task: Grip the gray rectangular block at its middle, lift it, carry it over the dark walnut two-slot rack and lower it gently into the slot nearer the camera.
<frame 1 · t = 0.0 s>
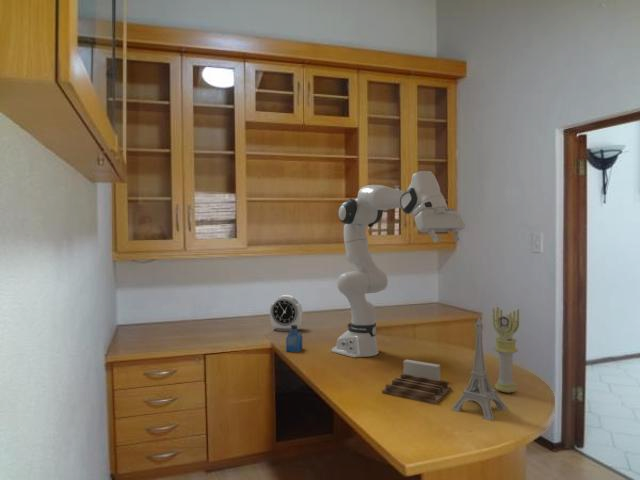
hand: (447, 241, 165), 54 cm above the table, tool tilted 30°, fingers open, 8 cm apart
perfume bottle: (294, 350, 223), on the table
gray rectangular block: (421, 378, 181), on the table
rack: (417, 391, 166), on the table
eiffel tower: (479, 409, 150), on the table
trophy: (505, 391, 165), on the table
alarm clock: (286, 330, 265), on the table
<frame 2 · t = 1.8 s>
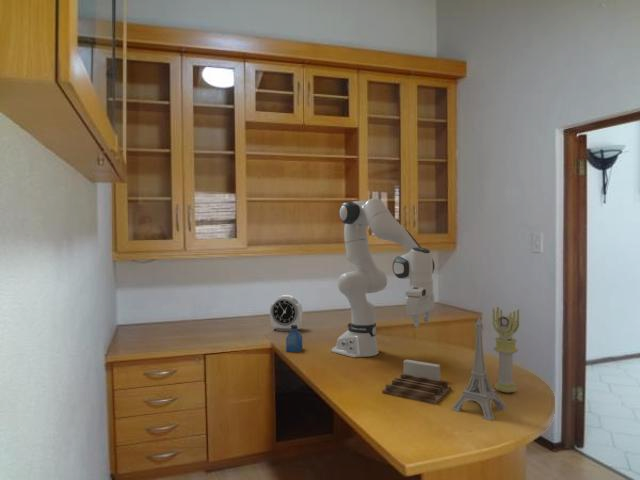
hand: (421, 324, 180), 21 cm above the table, tool pointing down, fingers open, 8 cm apart
nothing on the table moved.
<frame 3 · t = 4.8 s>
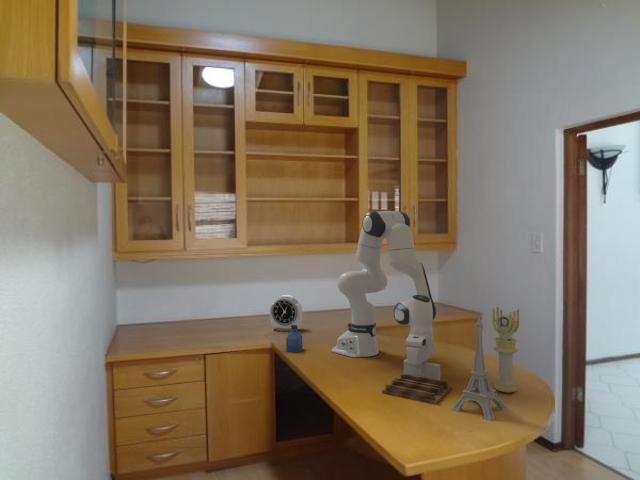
hand: (421, 371, 181), 2 cm above the table, tool pointing down, fingers closed on gray rectangular block, 3 cm apart
gray rectangular block: (421, 377, 181), on the table, touching gripper
everything else where it was.
when the fingers open (5 cm above the table, at t = 11.5 s): gray rectangular block drops 1 cm, resting on rack.
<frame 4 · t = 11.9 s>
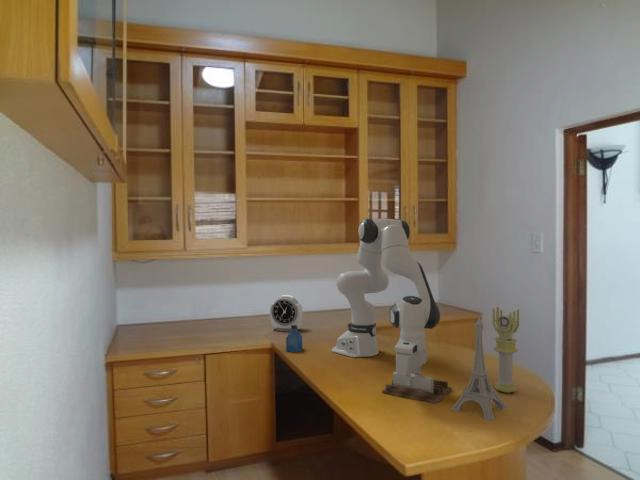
hand: (412, 381, 163), 5 cm above the table, tool pointing down, fingers open, 6 cm apart
gray rectangular block: (412, 392, 163), point 1 cm above the table, touching rack
everything else where it was.
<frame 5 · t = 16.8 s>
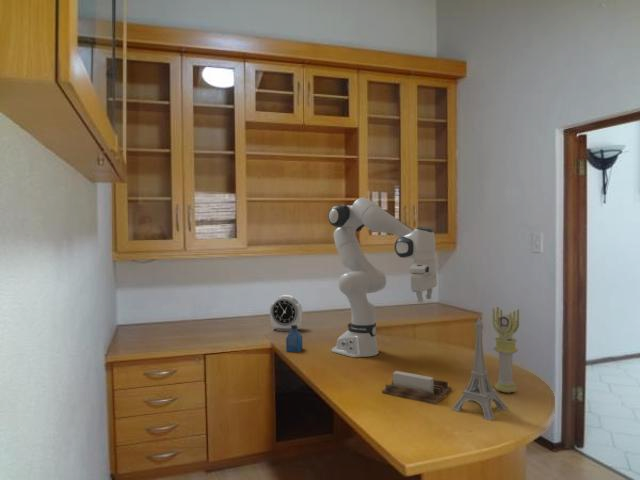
hand: (424, 300, 188), 29 cm above the table, tool pointing down, fingers open, 8 cm apart
nothing on the table moved.
at the end: gray rectangular block 0.1 cm from the target spot on the rack, point 1.0 cm above the rack's base; gray rectangular block tilted 0°; the gripper is holding nothing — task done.
